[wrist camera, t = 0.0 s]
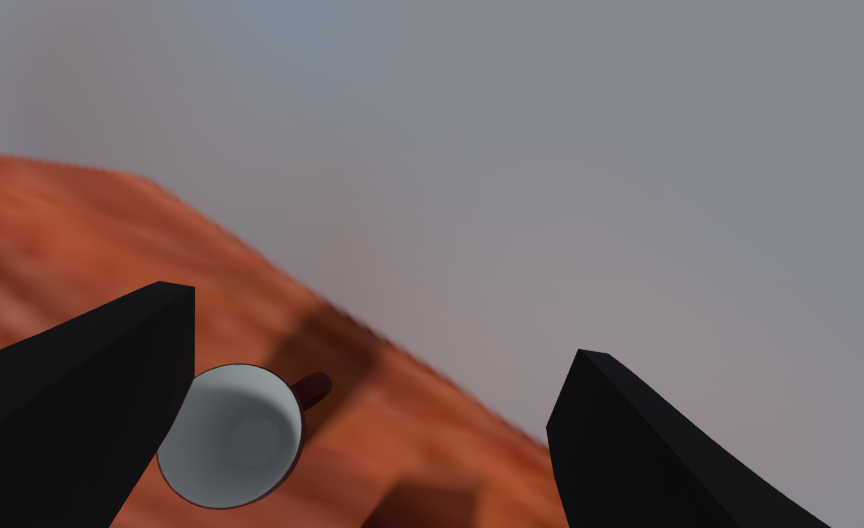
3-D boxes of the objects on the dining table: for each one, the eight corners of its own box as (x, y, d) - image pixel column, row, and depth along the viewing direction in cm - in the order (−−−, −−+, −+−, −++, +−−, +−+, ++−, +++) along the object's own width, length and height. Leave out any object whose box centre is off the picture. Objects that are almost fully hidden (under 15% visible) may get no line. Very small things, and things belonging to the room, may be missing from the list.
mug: (289, 345, 41) (277, 309, 32) (356, 418, 40) (363, 402, 30) (175, 441, 37) (123, 432, 28) (246, 526, 35) (215, 545, 26)
